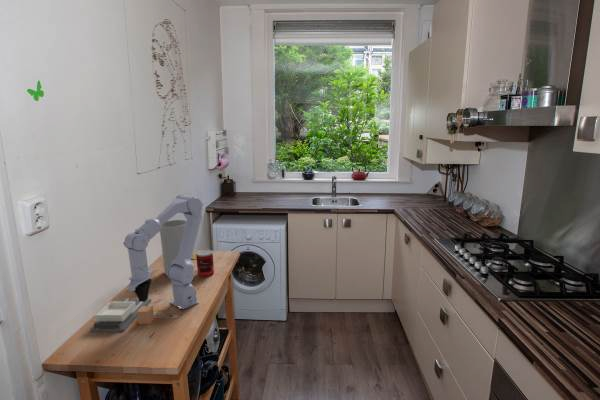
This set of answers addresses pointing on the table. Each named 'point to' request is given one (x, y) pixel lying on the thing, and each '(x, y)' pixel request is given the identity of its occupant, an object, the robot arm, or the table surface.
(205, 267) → the canned food
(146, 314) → the block
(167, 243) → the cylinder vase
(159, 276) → the table surface
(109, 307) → the white shallow tray
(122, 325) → the track
